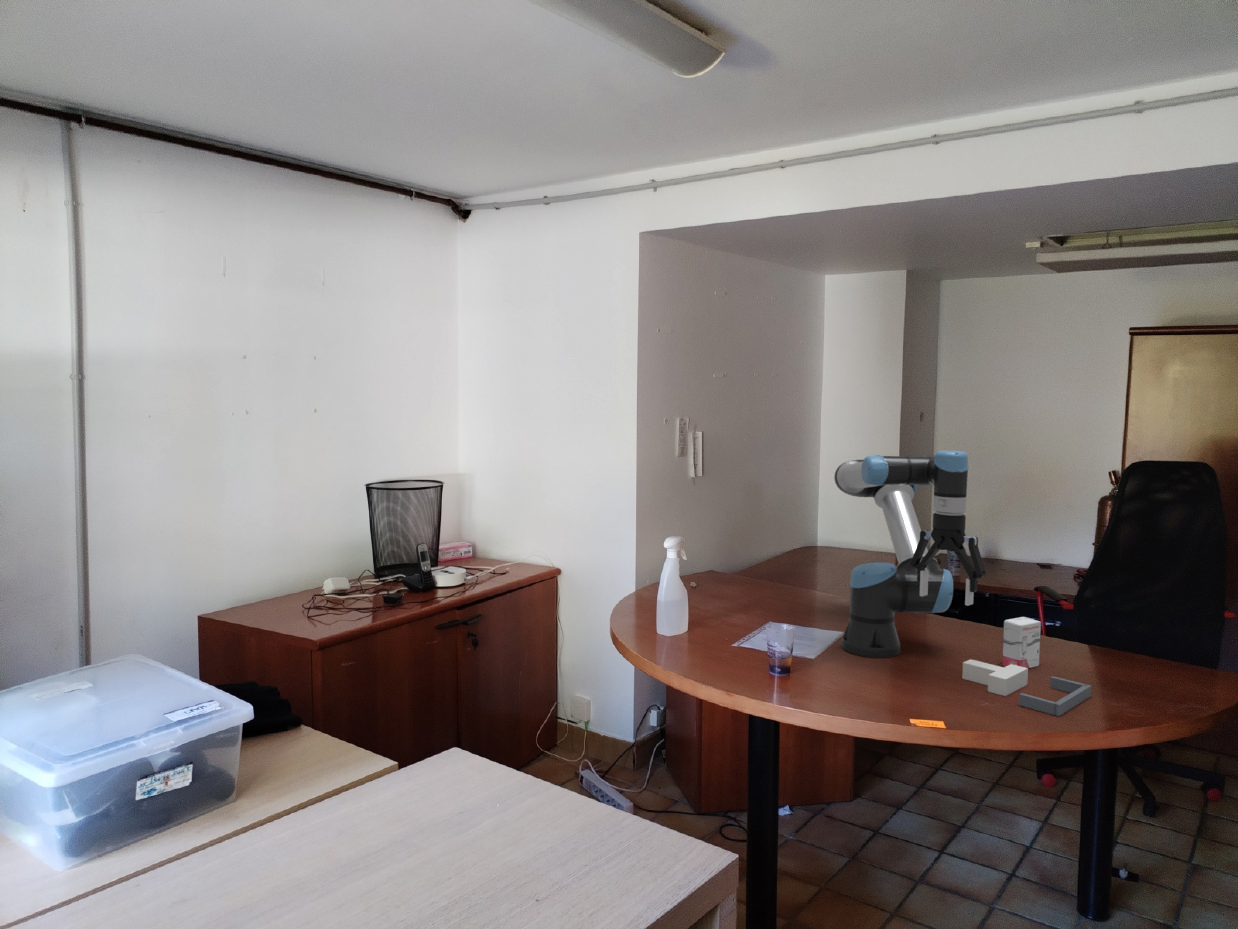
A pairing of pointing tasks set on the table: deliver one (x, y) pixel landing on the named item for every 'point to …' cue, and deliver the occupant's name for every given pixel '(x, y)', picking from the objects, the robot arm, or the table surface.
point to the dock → (1058, 708)
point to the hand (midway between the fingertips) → (945, 600)
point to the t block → (996, 676)
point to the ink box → (1021, 642)
